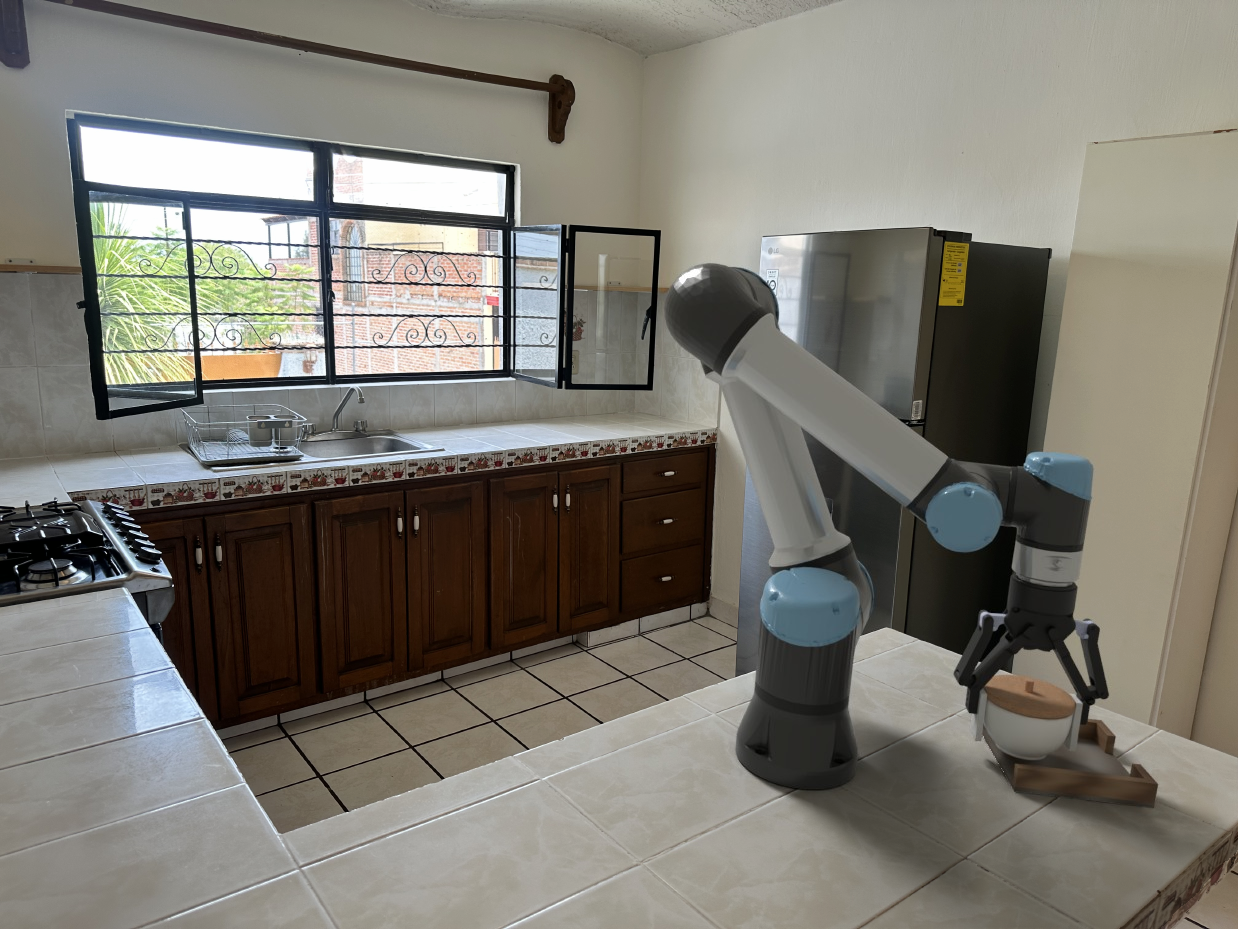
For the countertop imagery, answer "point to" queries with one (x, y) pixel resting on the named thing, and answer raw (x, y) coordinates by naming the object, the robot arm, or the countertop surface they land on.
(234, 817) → the countertop surface
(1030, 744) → the lidded jar
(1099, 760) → the holder
